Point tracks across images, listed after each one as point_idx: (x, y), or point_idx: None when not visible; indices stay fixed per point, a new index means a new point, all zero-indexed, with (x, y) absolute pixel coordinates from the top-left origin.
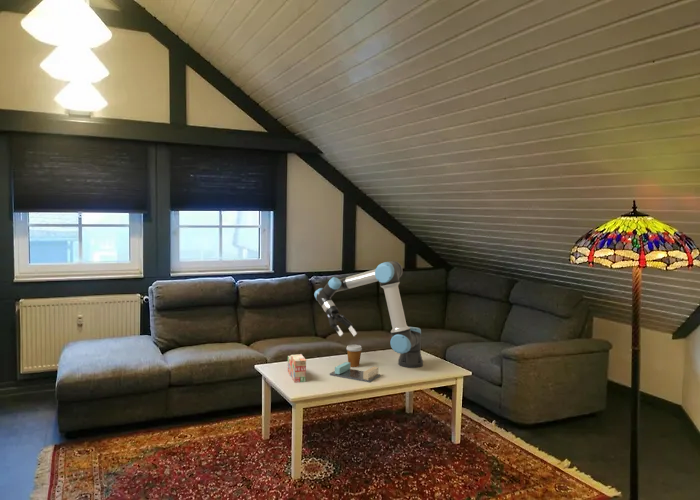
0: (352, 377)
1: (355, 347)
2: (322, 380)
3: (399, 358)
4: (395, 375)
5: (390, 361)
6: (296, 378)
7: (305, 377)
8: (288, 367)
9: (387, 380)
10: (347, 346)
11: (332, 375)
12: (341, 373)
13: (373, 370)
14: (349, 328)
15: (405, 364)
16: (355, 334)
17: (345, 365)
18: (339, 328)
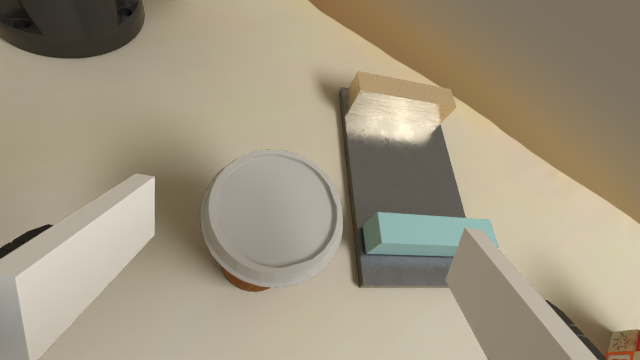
0: (451, 168)
1: (294, 190)
2: (546, 274)
3: (90, 23)
4: (295, 47)
5: (38, 100)
6: None
7: (635, 330)
8: None
9: (369, 62)
10: (323, 256)
11: None
12: None
13: (405, 82)
14: (44, 325)
15: (141, 14)
16: (154, 198)
17: (431, 216)
18: (531, 290)
